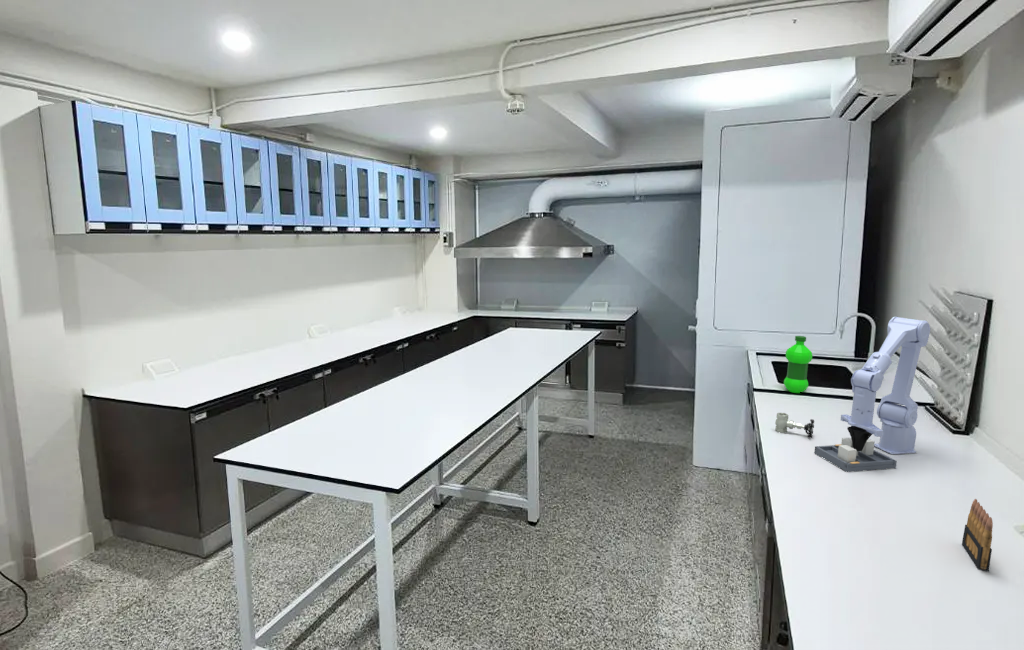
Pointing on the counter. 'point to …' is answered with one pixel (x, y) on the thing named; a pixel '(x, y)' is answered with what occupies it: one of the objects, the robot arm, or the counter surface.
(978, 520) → the ammunition clip
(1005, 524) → the counter surface
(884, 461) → the grey divided tray
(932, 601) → the counter surface
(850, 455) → the off-white plastic block
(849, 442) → the off-white block
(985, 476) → the counter surface
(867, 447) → the pale grey block
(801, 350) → the plastic bottle
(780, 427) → the valve
